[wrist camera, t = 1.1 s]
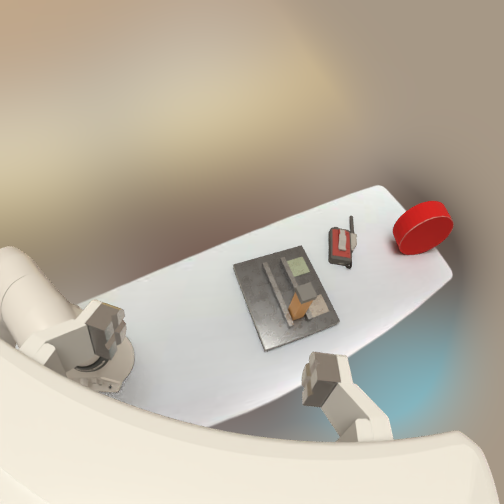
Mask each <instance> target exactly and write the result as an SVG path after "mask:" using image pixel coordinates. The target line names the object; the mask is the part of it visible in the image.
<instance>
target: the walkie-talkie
mask: <svg viewBox="0 0 504 504" xmlns="http://www.w3.org/2000/svg"><path fill="white" fill-rule="evenodd" d="M350 228H351V232H350V231H349V230H346V229H339V228H338V227H334V228H331V229H330V231H329V259H328V260H329V262H330V263H331V264H337V265H343V266H346V267H347V268H349V269H350V268H351V267H352V252H353V249H354V248H355V247H356V245H357V240H356V237H357V234H354V226H353V216H350ZM349 264H350V267H349V266H348V265H349Z"/></svg>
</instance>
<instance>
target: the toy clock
mask: <svg viewBox="0 0 504 504" xmlns="http://www.w3.org/2000/svg"><path fill="white" fill-rule="evenodd" d="M452 229H453V221H452V219H451V217H450V215H449V213H448V212H447V210H446V208H445V206H444V205H443V204H442V203H441V202H438V201H428V202H424V203H421V204H418V205H416V206H414V207H412V208H411V209H409V210H408V211H406V212H405V213H404V214H403V215H402V216H401V217H400V218H399V219H398V220H397V221H396V223H395V225H394V227H393V235H394V237H395V240H396V242H397V245H398V247H399V250H400V251H401V252H402V253H403V254H406V255H415V254H420V253H423V252H426V251H428V250H430V249H432V248H434V247H436V246H437V245H438V244H440V243H441V242H442V241H443V240H445V239H446V238H447V237H448V235H449V234H450V232H451V231H452Z"/></svg>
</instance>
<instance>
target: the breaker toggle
mask: <svg viewBox="0 0 504 504" xmlns="http://www.w3.org/2000/svg"><path fill="white" fill-rule="evenodd" d="M316 298H317V294H316V292H315V290H314V288H313V286H312V284H311V282H309V283H306V284H303V285H300V286H297V287H296V288H295V294H294V296H293V299H292V301H291V303H290V305H289V308H288V311H289V314H290V316H291V318H292V321H293V320H296V319H299V318H302V317H304V315H305V313H306V312H307V310H308V308H309V307H310V305H311V303H312V302H313V300H315V299H316Z"/></svg>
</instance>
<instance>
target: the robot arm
mask: <svg viewBox="0 0 504 504" xmlns="http://www.w3.org/2000/svg"><path fill="white" fill-rule="evenodd" d="M124 317H125V313H124V310H123V309H121V308H118V307H115V306H112V305H110V304H107V303H103V302H101V301H98V300H92V301H91V302H90V303H89V304H88V306H87V307H86V308H85V309H84V310H82V309H81V308H80V307H79V306H77V305H75V304H71V303H70V302H69V301H68V300H67V299H66V298H65V297H64V296H63V295H62V294H61V293H60V292H59V291H58V290H57V288H56V287H55V286H54V285H53V284H52V282H51V281H50V280H49V279H48V278H46V276H45V275H44V273H43V272H42V271H41V270H40V268H39V267H38V266H37V264H36V263H35V262H34V260H32V258H30V257H29V256H28V255H27V254H25V253H24V252H22V251H21V250H19V249H18V248H16V247H11V246H9V247H4V248H1V249H0V504H499V499H498V495H497V491H496V487H495V484H494V480H493V477H492V474H491V471H490V468H489V465H488V462H487V460H486V458H485V456H484V453H483V452H482V450H481V448H480V447H479V446H478V445H476V444H475V443H474V442H473V441H472V440H471V439H469V438H468V437H467V436H466V435H464V434H463V433H462V432H460V431H449V432H445V433H440V434H434V435H428V436H421V437H414V438H406V439H397V440H393V435H392V431H391V426H390V422H389V419H388V417H387V416H386V415H385V414H384V412H382V411H381V409H380V408H379V407H378V406H377V405H376V404H375V403H374V402H373V401H372V400H371V399H370V398H369V397H368V396H367V395H366V394H365V393H364V392H363V391H362V390H361V389H360V388H359V387H358V385H357V384H353V381H352V377H351V372H350V367H349V363H348V358H347V356H346V355H337V354H335V355H334V354H328V353H320V352H312V353H311V355H310V357H309V363H307V364H306V365H305V367H304V370H303V373H302V386H303V387H304V390H303V392H302V402H303V405H305V406H314V407H321V409H322V410H323V412H324V413H325V415H326V416H327V418H328V420H329V421H330V423H331V424H332V426H333V427H334V428H335V430H336V432H337V433H338V434H339V436H340V438H339V439H338V440H337V441H336V442H312V441H296V440H284V439H274V438H266V437H258V436H251V435H244V434H238V433H233V432H228V431H222V430H217V429H212V428H208V427H204V426H199V425H195V424H191V423H187V422H183V421H180V420H176V419H172V418H169V417H165V416H162V415H159V414H156V413H152V412H149V411H146V410H143V409H140V408H138V407H135V406H132V405H129V404H126V403H124V402H121V401H118V400H116V399H113V398H111V397H108V396H106V395H104V394H101V393H99V392H118V391H119V390H120V388H121V385H122V382H123V380H124V379H125V378H126V377H127V376H128V375H129V373H130V372H131V370H132V367H133V364H134V350H133V347H132V344H131V342H130V341H129V339H128V338H127V337H126V336H125V335H126V323H125V322H124V320H123V318H124ZM16 343H17V345H18V347H19V350H17V349H16V348H15V346H16ZM110 386H111V387H112V388H111V389H110Z"/></svg>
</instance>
